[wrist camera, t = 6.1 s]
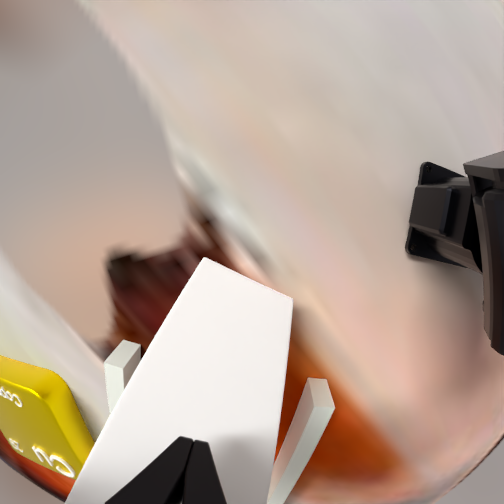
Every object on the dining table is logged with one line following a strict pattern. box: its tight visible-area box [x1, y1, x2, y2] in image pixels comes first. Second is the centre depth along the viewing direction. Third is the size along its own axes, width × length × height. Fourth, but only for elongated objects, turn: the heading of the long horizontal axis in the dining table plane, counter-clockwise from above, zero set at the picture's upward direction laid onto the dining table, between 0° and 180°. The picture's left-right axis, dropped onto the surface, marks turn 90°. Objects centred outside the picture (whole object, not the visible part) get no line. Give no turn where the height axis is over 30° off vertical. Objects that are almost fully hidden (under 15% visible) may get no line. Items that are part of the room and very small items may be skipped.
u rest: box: [104, 340, 335, 504], centre depth 22 cm, size 16×24×4 cm
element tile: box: [0, 355, 95, 480], centre depth 22 cm, size 15×15×5 cm
